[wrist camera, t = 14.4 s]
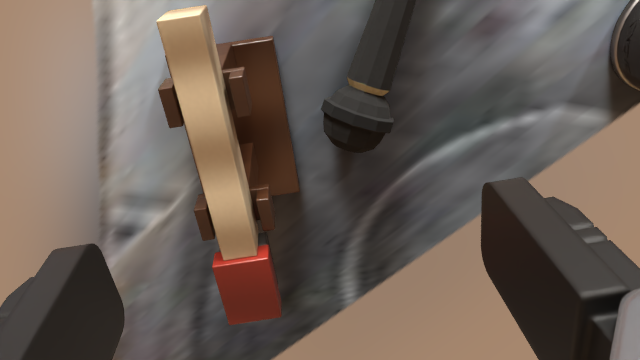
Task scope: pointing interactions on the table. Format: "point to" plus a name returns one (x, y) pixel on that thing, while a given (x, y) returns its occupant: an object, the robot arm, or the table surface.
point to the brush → (220, 168)
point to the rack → (249, 126)
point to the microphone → (369, 80)
